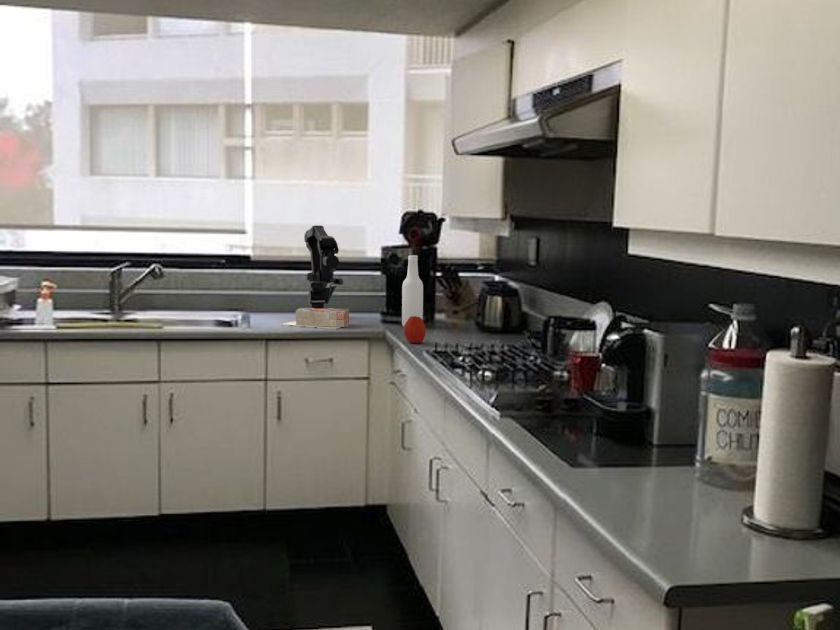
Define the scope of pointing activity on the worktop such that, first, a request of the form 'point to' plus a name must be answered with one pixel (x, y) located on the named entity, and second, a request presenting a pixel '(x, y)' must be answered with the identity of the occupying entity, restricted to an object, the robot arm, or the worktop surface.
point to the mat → (311, 325)
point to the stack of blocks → (322, 317)
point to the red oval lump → (414, 329)
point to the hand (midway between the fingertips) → (326, 302)
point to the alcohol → (412, 292)
